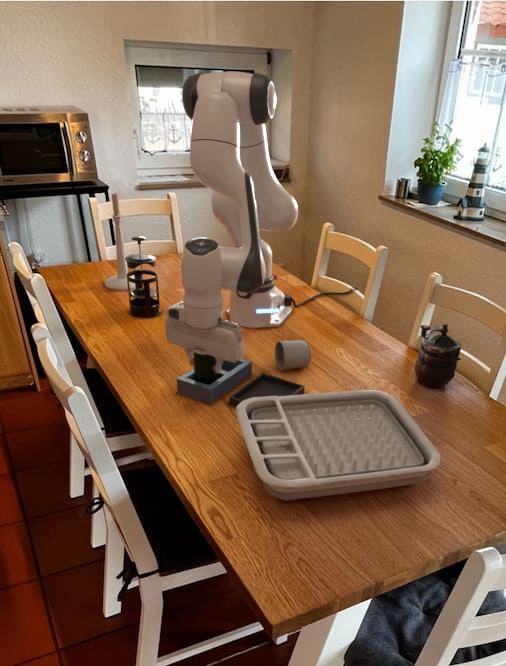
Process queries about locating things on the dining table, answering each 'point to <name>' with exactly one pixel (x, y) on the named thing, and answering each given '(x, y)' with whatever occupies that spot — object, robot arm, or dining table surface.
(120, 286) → the candlestick
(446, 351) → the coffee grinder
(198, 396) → the frame
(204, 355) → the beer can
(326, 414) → the dish rack
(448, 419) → the dining table surface
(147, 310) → the french press
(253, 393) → the tray
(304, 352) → the ceramic mug
